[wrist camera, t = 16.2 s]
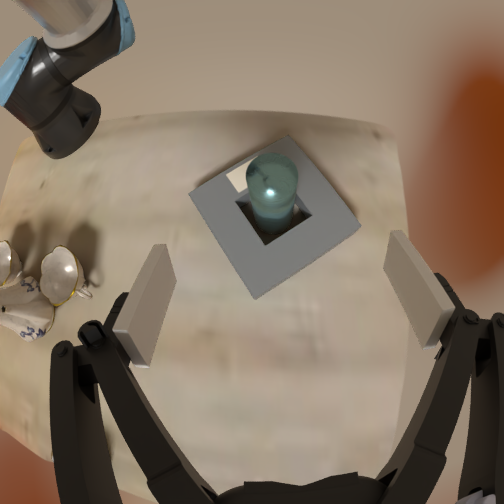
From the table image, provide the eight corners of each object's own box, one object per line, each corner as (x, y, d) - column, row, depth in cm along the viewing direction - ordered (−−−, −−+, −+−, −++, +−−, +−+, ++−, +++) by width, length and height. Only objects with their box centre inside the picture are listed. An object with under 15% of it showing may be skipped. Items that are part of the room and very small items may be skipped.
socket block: (194, 202, 40) (187, 193, 37) (287, 146, 40) (288, 134, 37) (255, 299, 36) (253, 298, 33) (355, 232, 37) (361, 225, 34)
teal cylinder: (247, 211, 39) (235, 169, 27) (278, 192, 39) (278, 144, 27) (268, 241, 38) (264, 208, 26) (299, 221, 38) (308, 181, 26)
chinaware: (109, 249, 41) (42, 203, 25) (100, 357, 36) (19, 353, 20) (10, 252, 43) (-45, 222, 27) (0, 331, 38) (-61, 317, 22)
